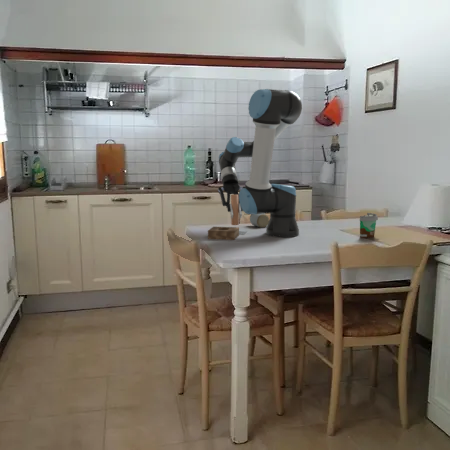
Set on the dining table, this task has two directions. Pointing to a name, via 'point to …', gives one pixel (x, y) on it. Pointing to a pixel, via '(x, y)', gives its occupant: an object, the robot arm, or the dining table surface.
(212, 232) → the socket block
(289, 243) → the dining table surface
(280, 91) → the robot arm
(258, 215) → the grey beige can
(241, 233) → the mat
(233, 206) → the dowel
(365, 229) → the food container
